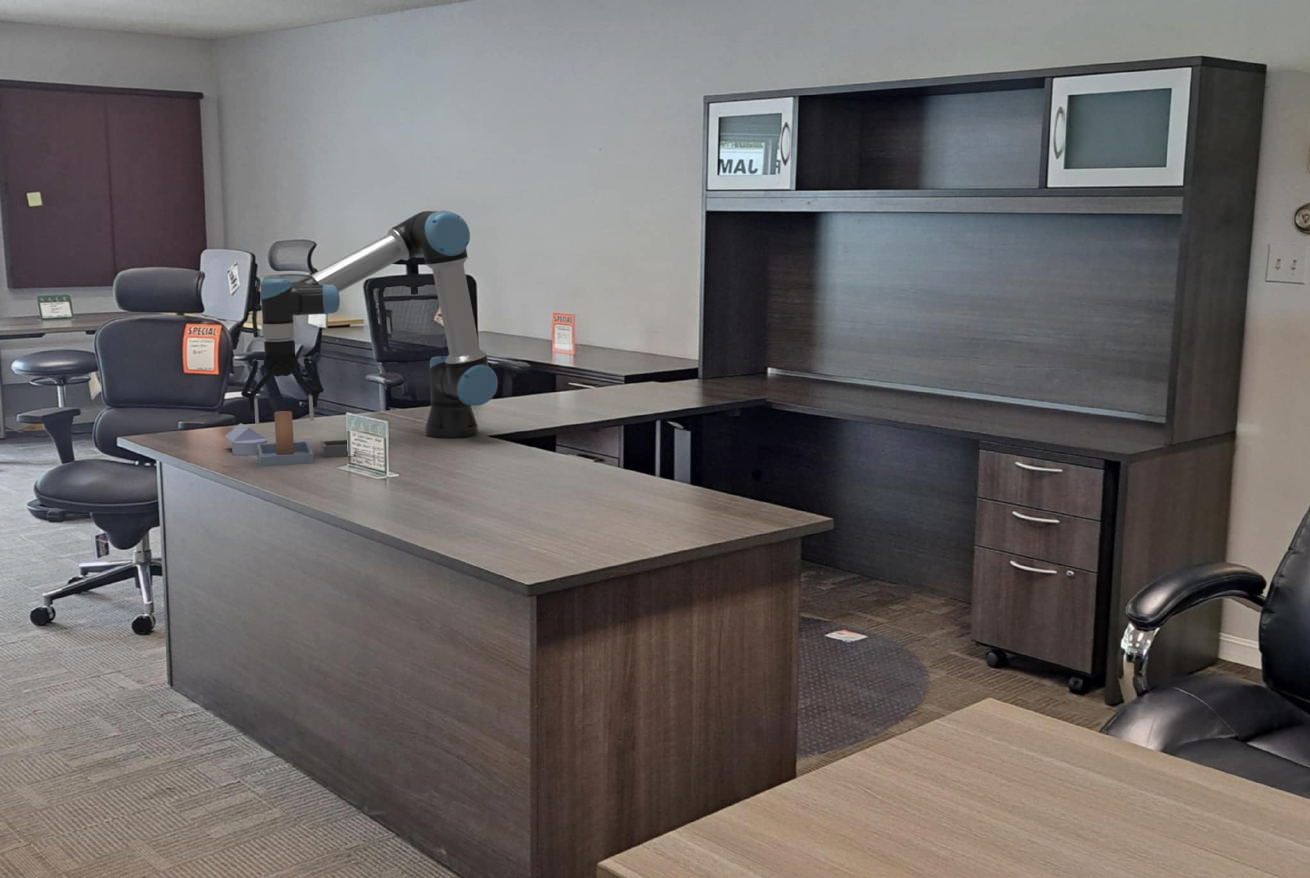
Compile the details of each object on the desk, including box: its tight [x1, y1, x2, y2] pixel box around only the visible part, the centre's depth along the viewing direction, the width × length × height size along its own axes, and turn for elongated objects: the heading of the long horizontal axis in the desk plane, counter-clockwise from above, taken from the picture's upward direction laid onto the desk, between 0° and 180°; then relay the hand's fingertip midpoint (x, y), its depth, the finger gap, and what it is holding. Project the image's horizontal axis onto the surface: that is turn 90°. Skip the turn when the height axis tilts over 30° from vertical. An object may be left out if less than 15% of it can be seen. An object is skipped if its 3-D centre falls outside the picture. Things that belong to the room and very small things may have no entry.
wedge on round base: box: [224, 423, 268, 456], centre depth 330 cm, size 9×7×13 cm
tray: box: [256, 441, 315, 468], centre depth 317 cm, size 13×18×3 cm
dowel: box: [273, 410, 295, 455], centre depth 316 cm, size 4×4×12 cm
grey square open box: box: [320, 439, 348, 459], centre depth 323 cm, size 8×8×4 cm
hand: (284, 421), depth 316 cm, fingers open, 13 cm apart
